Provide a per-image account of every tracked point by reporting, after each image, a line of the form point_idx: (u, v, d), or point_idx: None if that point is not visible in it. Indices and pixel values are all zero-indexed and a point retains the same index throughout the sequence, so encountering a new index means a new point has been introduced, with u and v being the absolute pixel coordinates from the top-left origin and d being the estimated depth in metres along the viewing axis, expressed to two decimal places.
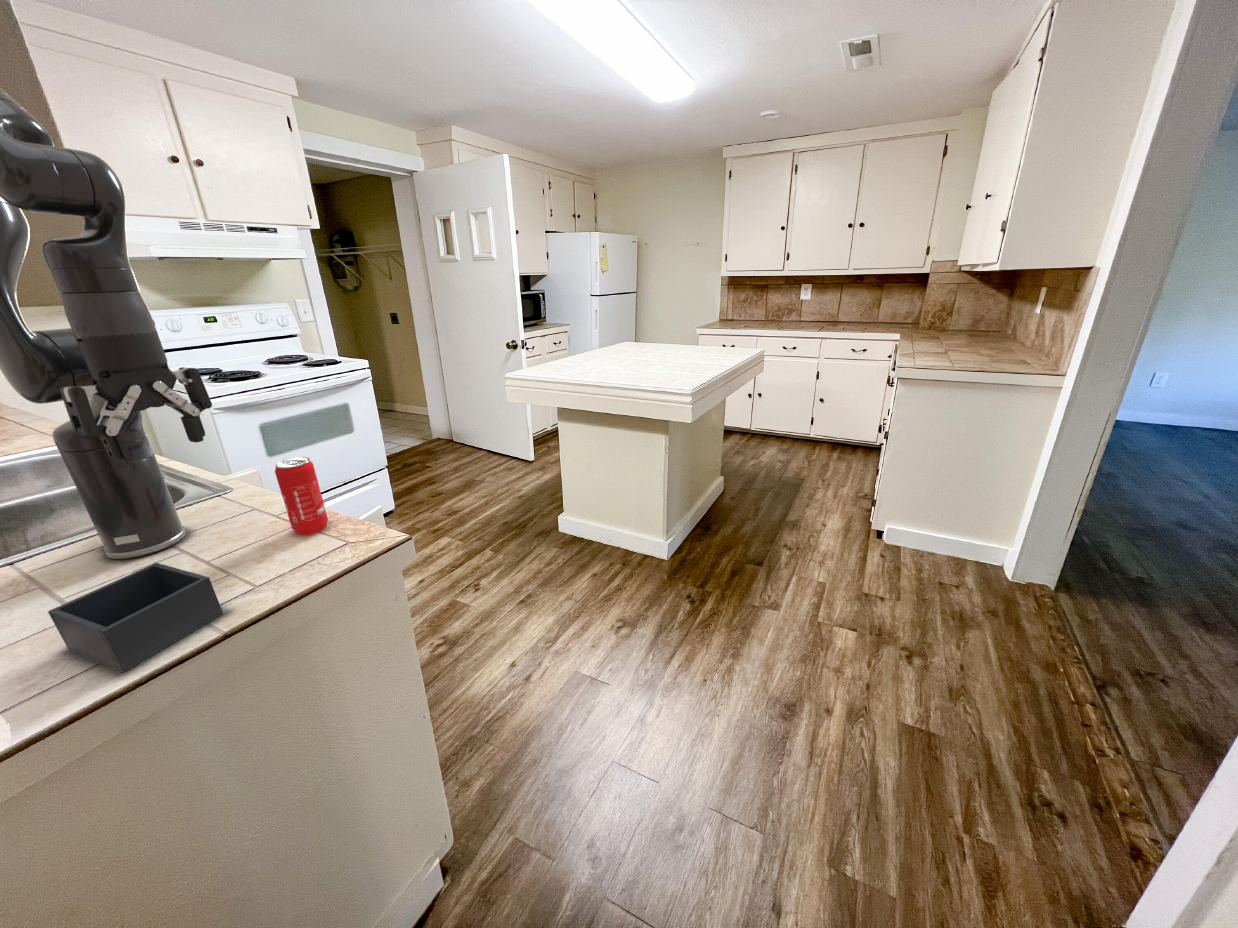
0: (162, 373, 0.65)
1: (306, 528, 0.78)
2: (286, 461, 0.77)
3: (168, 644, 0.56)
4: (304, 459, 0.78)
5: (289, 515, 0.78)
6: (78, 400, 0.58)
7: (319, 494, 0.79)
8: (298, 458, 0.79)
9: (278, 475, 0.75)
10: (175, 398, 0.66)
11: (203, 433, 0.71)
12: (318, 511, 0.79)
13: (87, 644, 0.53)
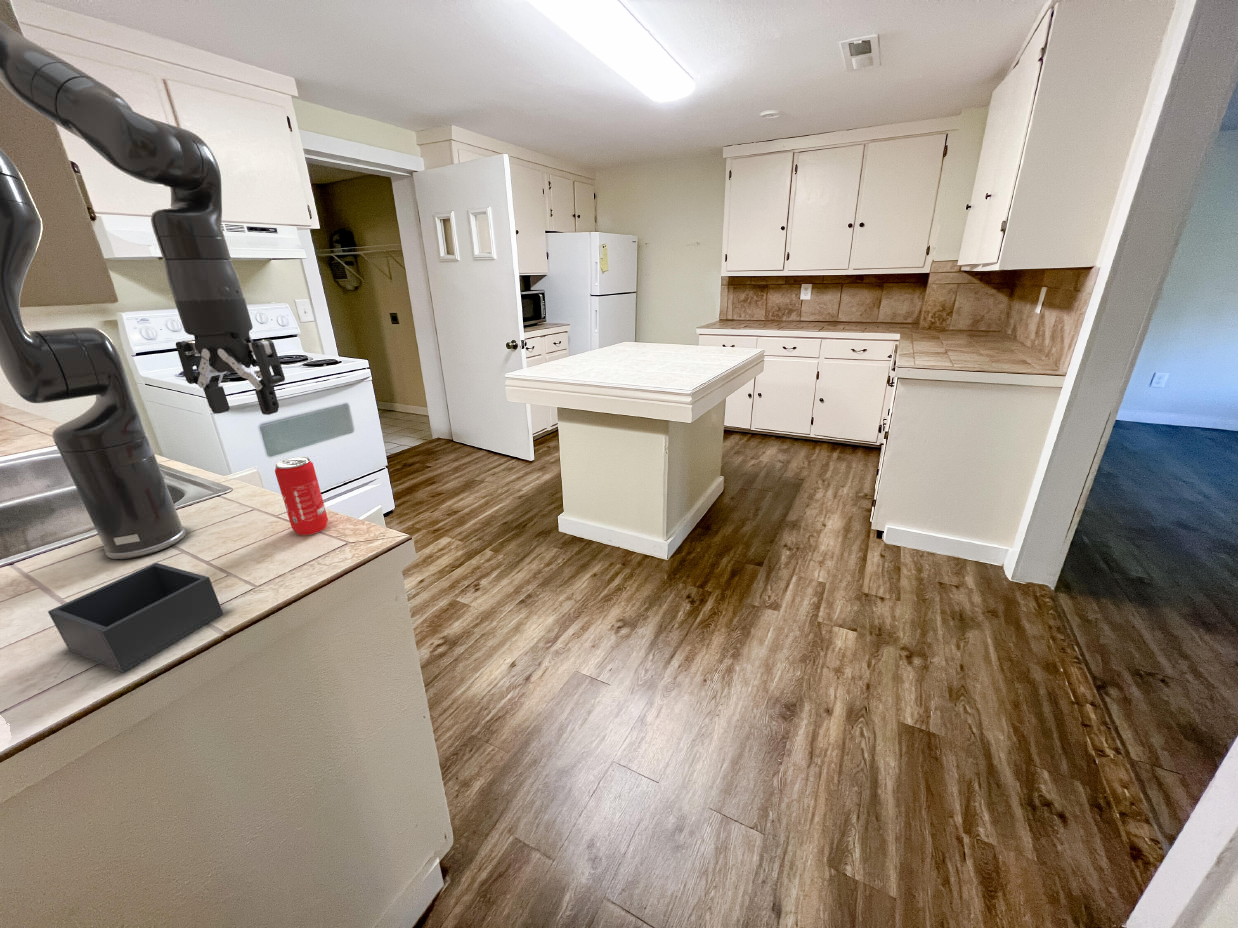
0: (232, 341, 0.66)
1: (306, 528, 0.78)
2: (286, 461, 0.77)
3: (168, 644, 0.56)
4: (304, 459, 0.78)
5: (289, 515, 0.78)
6: (179, 353, 0.68)
7: (319, 494, 0.79)
8: (298, 458, 0.79)
9: (278, 475, 0.75)
10: (236, 368, 0.67)
11: (269, 407, 0.70)
12: (318, 511, 0.79)
13: (87, 644, 0.53)
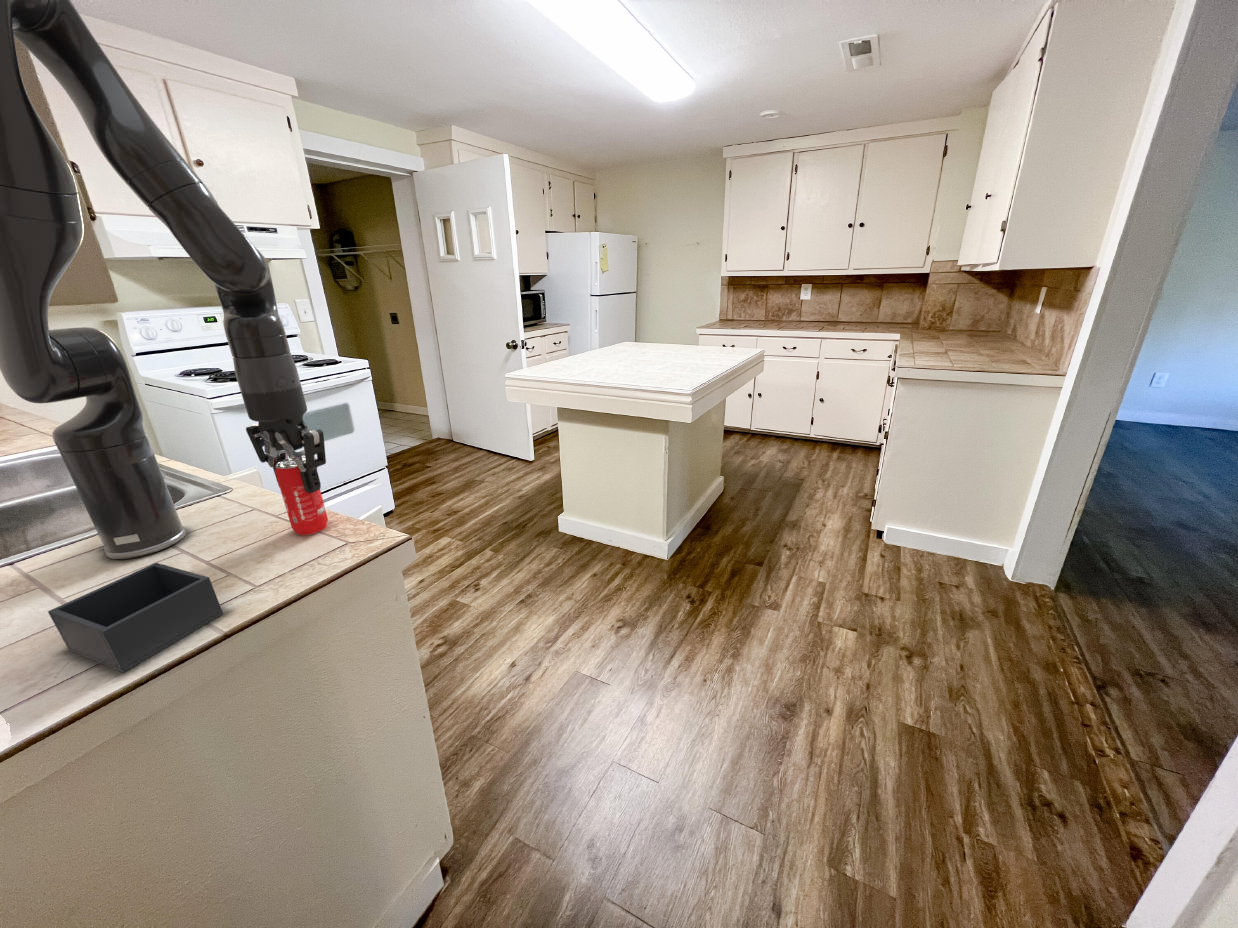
0: (287, 426, 0.73)
1: (306, 528, 0.78)
2: (286, 461, 0.77)
3: (168, 644, 0.56)
4: (304, 459, 0.78)
5: (289, 515, 0.78)
6: (250, 437, 0.76)
7: (319, 494, 0.79)
8: None
9: (278, 475, 0.75)
10: (287, 451, 0.74)
11: (311, 487, 0.76)
12: (318, 511, 0.79)
13: (87, 644, 0.53)
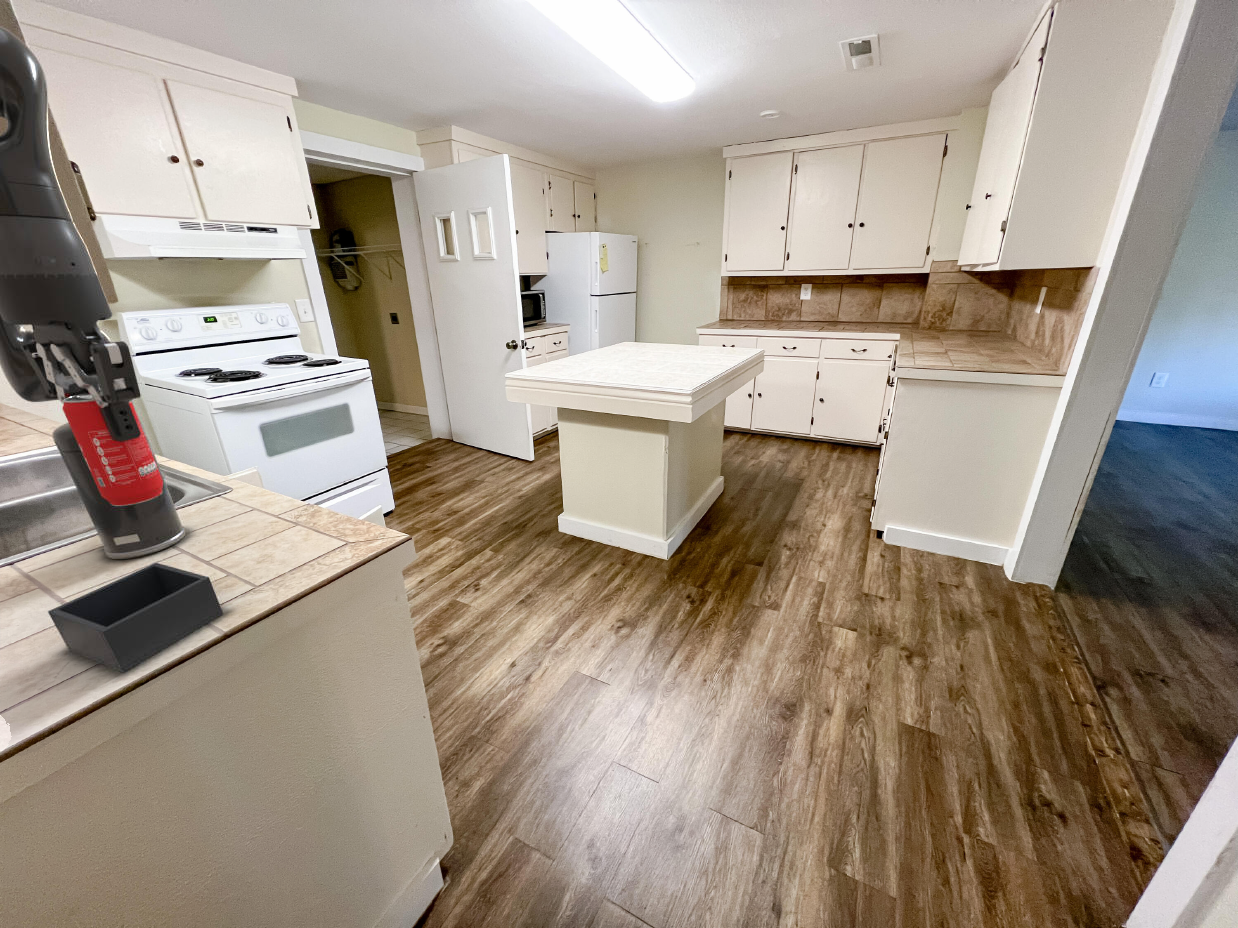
0: (67, 334, 0.47)
1: (120, 495, 0.53)
2: (86, 395, 0.52)
3: (168, 644, 0.56)
4: None
5: (93, 475, 0.53)
6: (28, 357, 0.51)
7: (142, 446, 0.54)
8: None
9: (66, 413, 0.50)
10: (74, 374, 0.49)
11: (120, 432, 0.51)
12: (140, 470, 0.54)
13: (87, 644, 0.53)
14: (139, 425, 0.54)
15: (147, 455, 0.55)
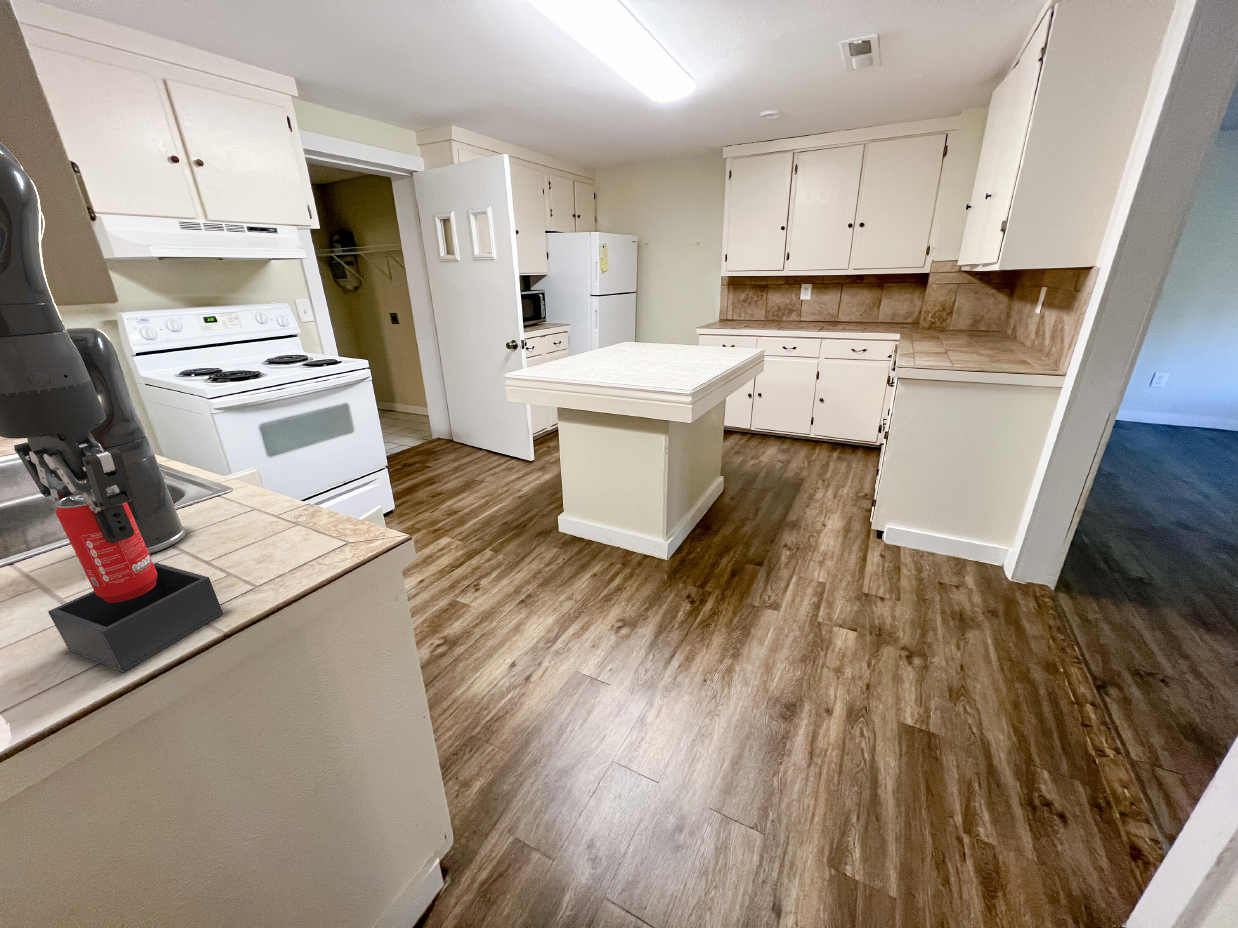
0: (60, 444, 0.47)
1: (113, 593, 0.53)
2: (80, 495, 0.52)
3: (168, 644, 0.56)
4: None
5: (86, 574, 0.53)
6: (22, 459, 0.51)
7: (136, 542, 0.54)
8: None
9: (59, 517, 0.50)
10: (66, 482, 0.48)
11: (114, 534, 0.51)
12: (134, 567, 0.54)
13: (87, 644, 0.53)
14: (133, 522, 0.54)
15: (141, 551, 0.55)
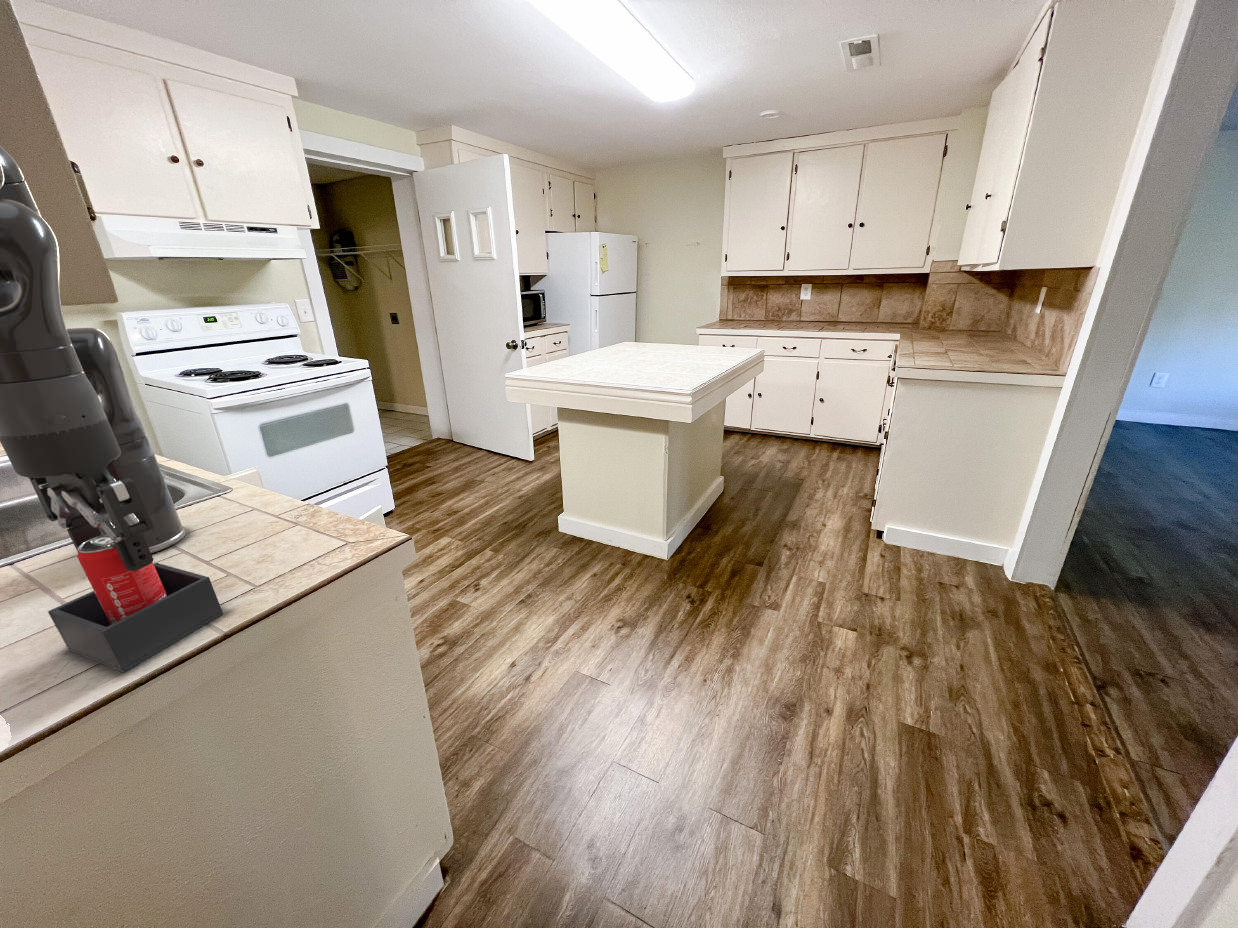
0: (78, 482, 0.49)
1: None
2: (100, 538, 0.54)
3: (168, 644, 0.56)
4: None
5: (106, 614, 0.55)
6: (34, 485, 0.52)
7: (153, 582, 0.56)
8: None
9: (80, 562, 0.52)
10: (86, 515, 0.50)
11: (134, 563, 0.52)
12: None
13: (87, 644, 0.53)
14: None
15: (158, 590, 0.57)
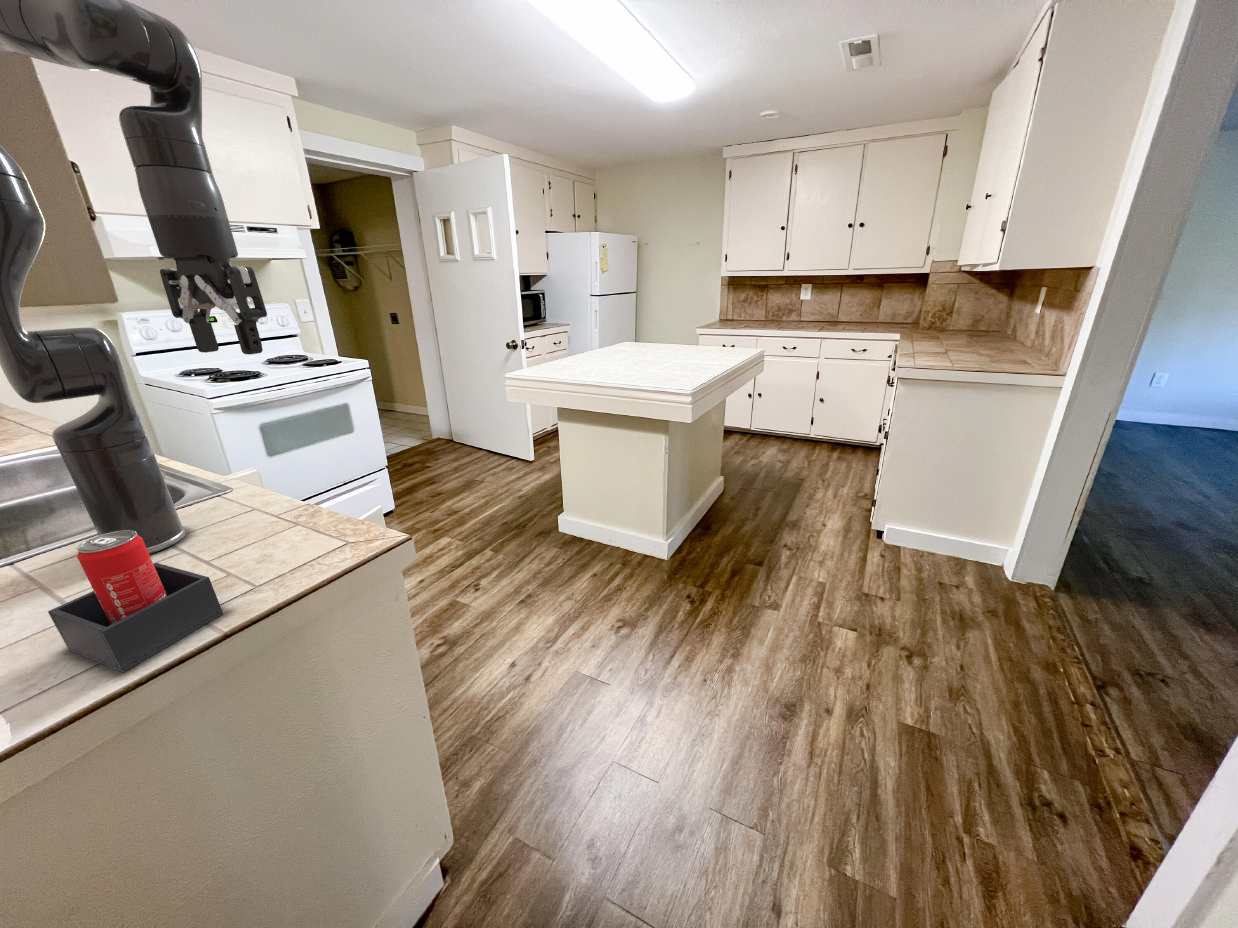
0: (209, 267, 0.58)
1: None
2: (99, 538, 0.54)
3: (168, 644, 0.56)
4: (128, 534, 0.55)
5: (106, 614, 0.55)
6: (164, 282, 0.62)
7: (153, 582, 0.56)
8: (122, 531, 0.55)
9: (80, 562, 0.52)
10: (214, 298, 0.59)
11: (249, 346, 0.61)
12: None
13: (87, 644, 0.53)
14: (150, 562, 0.56)
15: (158, 590, 0.57)
